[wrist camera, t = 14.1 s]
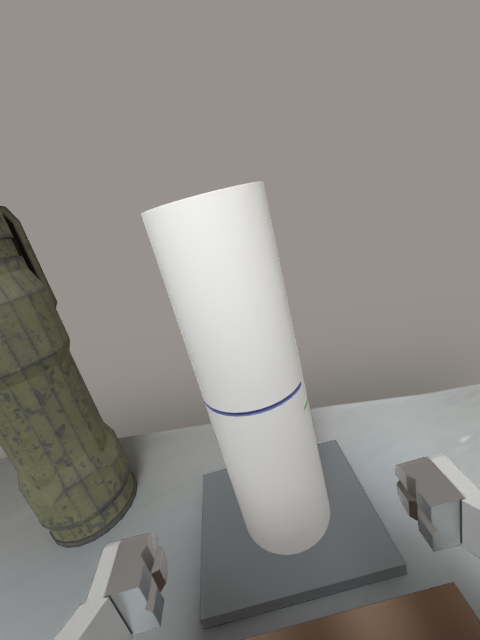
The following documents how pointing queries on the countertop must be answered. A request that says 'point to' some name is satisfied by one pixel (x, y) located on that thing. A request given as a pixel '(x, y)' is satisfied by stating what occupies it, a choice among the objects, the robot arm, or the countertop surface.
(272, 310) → the cylindrical container
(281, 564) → the rubber mat
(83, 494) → the thermos
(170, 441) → the countertop surface
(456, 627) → the pocket block
